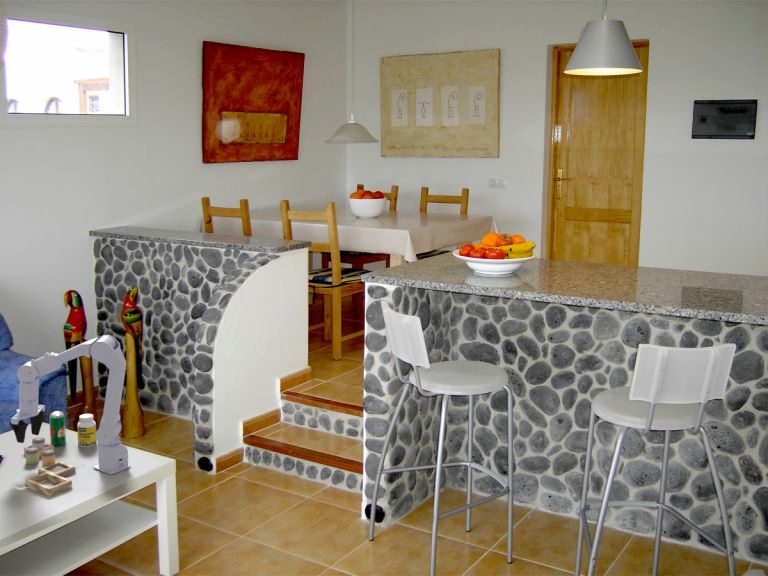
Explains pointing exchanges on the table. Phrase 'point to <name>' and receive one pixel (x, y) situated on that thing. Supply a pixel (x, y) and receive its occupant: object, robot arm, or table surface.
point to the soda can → (57, 429)
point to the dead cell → (38, 443)
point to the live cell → (48, 457)
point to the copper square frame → (47, 447)
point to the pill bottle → (86, 431)
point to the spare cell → (32, 456)
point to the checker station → (52, 478)
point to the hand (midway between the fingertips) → (27, 438)
